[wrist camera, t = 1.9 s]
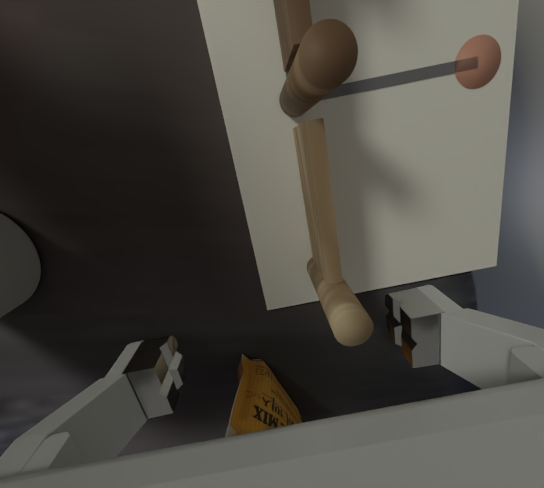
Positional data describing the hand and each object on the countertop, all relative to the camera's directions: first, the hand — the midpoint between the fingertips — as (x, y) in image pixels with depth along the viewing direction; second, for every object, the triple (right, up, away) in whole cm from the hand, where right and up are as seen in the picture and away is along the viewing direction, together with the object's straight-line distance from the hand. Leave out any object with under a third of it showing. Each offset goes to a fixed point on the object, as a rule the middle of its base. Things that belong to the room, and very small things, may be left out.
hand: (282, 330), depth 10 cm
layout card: (+9, +17, +17) cm, 26 cm away
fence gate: (+4, +7, +20) cm, 21 cm away
